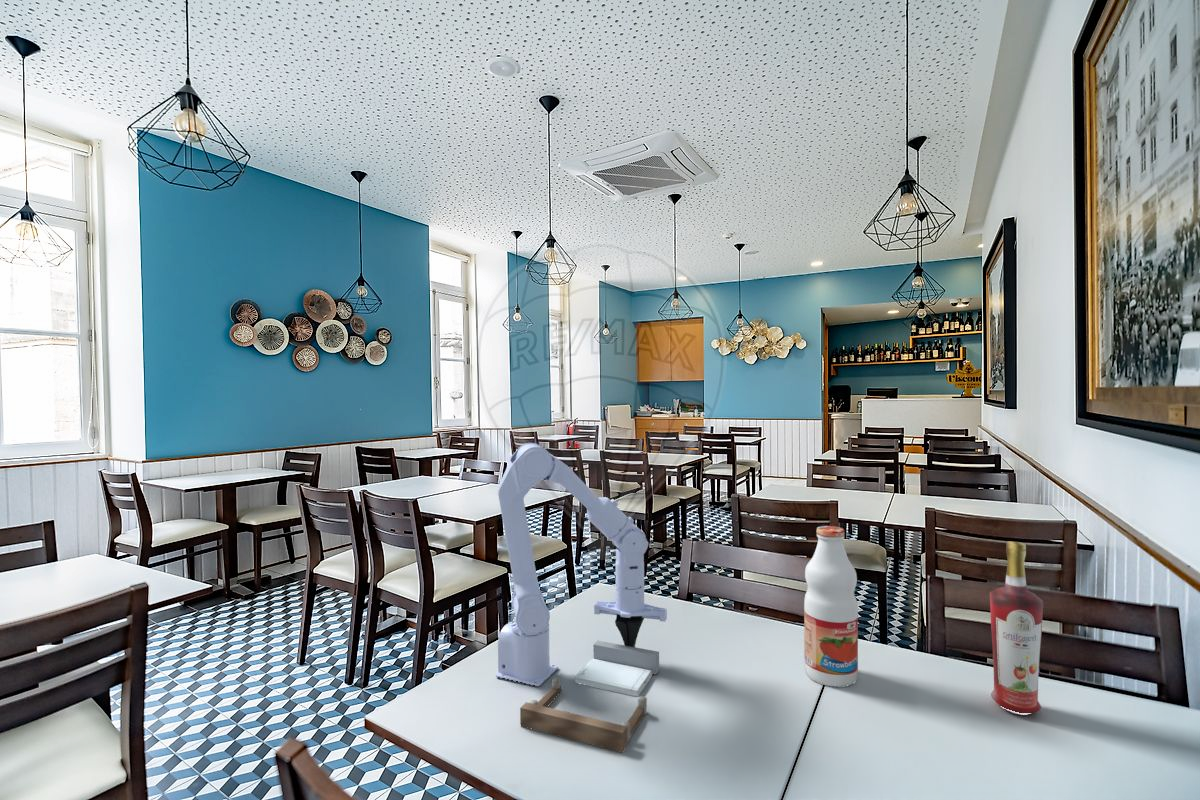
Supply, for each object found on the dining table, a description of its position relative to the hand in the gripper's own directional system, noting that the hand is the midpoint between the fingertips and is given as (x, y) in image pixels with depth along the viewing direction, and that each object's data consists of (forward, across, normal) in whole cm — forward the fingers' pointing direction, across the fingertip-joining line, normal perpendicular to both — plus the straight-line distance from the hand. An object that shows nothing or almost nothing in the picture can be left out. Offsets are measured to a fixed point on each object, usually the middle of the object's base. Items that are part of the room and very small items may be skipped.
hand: (630, 652), depth 114 cm
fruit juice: (+2, +38, +5) cm, 38 cm away
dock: (+2, -2, -21) cm, 21 cm away
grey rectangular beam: (+2, 0, -2) cm, 3 cm away
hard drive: (+2, -1, -8) cm, 8 cm away
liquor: (+2, +67, +1) cm, 67 cm away
